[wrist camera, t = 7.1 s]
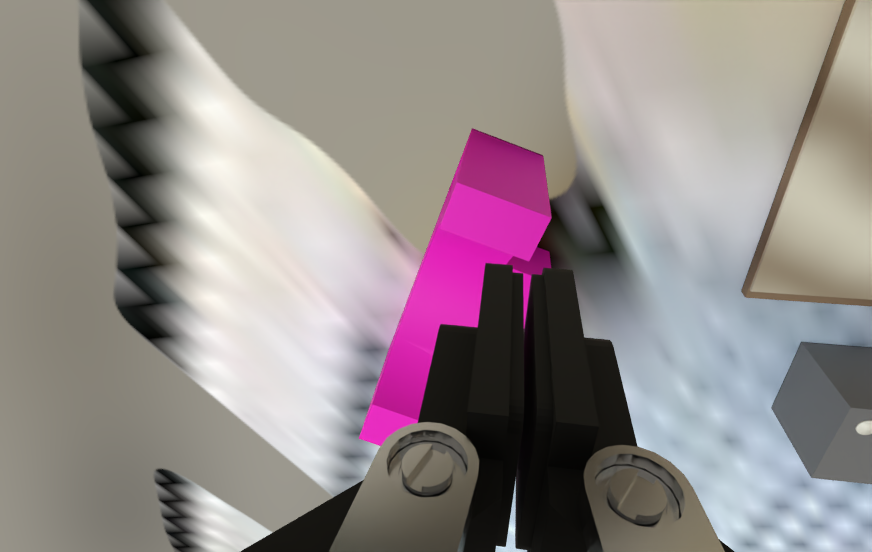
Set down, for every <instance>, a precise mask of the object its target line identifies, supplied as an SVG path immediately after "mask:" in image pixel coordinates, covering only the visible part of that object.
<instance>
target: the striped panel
mask: <svg viewBox="0 0 872 552" xmlns="http://www.w3.org/2000/svg"><path fill="white" fill-rule="evenodd" d="M741 292H742V293H743V295H744V296H745V297H746V298H760V299H775V300H789V301H803V302H817V303H832V304H846V305H860V306H872V0H846V1H845V4H844V6H843V9H842V12H841V15H840V18H839V20H838V23H837V26H836V29H835V32H834V34H833V37H832V40H831V43H830V45H829V48H828V51H827V54H826V57H825V59H824V62H823V65H822V68H821V71H820V73H819V76H818V79H817V82H816V84H815V87H814V90H813V93H812V96H811V98H810V101H809V104H808V107H807V110H806V112H805V115H804V118H803V121H802V124H801V126H800V129H799V132H798V135H797V137H796V140H795V143H794V146H793V149H792V151H791V154H790V157H789V160H788V163H787V165H786V168H785V171H784V174H783V176H782V179H781V182H780V185H779V188H778V190H777V193H776V196H775V199H774V202H773V204H772V207H771V210H770V213H769V216H768V218H767V221H766V224H765V227H764V229H763V232H762V235H761V238H760V241H759V243H758V246H757V249H756V252H755V255H754V257H753V260H752V263H751V266H750V268H749V271H748V274H747V277H746V280H745V282H744V285H743V288H742V291H741Z"/></svg>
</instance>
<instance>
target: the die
mask: <svg viewBox="0 0 872 552" xmlns="http://www.w3.org/2000/svg"><path fill="white" fill-rule="evenodd" d="M772 410H773V412H774V413H775V415H776V417H777V419H778V420H779V422H780V424H781V426H782V427H783V429H784V431H785V433H786V434H787V436H788V438H789V440H790V441H791V443H792V445H793V447H794V448H795V450H796V452H797V454H798V455H799V457H800V459H801V461H802V462H803V464H804V466H805V468H806V469H807V471H808V473H809V474H810V476H811V478H819V479H828V480H837V481H847V482H856V483H865V484H872V348H867V347H854V346H842V345H829V344H816V343H804V342H801V344H800V347H799V349H798V351H797V353H796V355H795V358H794V360H793V362H792V364H791V366H790V369H789V371H788V373H787V375H786V377H785V380H784V382H783V384H782V386H781V388H780V390H779V393H778V395H777V397H776V399H775V401H774V404H773V406H772Z"/></svg>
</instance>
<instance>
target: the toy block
mask: <svg viewBox="0 0 872 552" xmlns="http://www.w3.org/2000/svg"><path fill="white" fill-rule="evenodd" d="M550 220H551V210H550V203H549V195H548V188H547V180H546V173H545V165H544V158H543V155H541V154H539V153H536V152H534V151H531V150H528V149H525V148H523V147H520V146H518V145H515V144H513V143H510V142H507V141H505V140H502V139H499V138H497V137H494V136H491V135H489V134H486V133H484V132H481V131H478V130H476V129H473V128H472V130H471V133H470V135H469V139H468V141H467V143H466V146H465V149H464V151H463V154H462V157H461V159H460V162H459V165H458V167H457V170H456V172H455V175H454V178H453V180H452V183H451V186H450V188H449V191H448V194H447V196H446V199H445V202H444V204H443V207H442V210H441V212H440V215H439V218H438V220H437V223H436V226H435V228H434V231H433V234H432V236H431V239H430V242H429V244H428V247H427V249H426V252H425V255H424V258H423V260H422V263H421V266H420V268H419V271H418V274H417V276H416V279H415V282H414V284H413V287H412V289H411V292H410V295H409V297H408V300H407V303H406V305H405V308H404V311H403V313H402V316H401V319H400V321H399V324H398V327H397V329H396V332H395V335H394V337H393V340H392V343H391V345H390V348H389V351H388V353H387V356H386V359H385V362H384V365H383V368H382V371H381V374H380V377H379V380H378V383H377V386H376V389H375V392H374V395H373V398H372V401H371V404H370V407H369V410H368V413H367V416H366V419H365V422H364V425H363V428H362V431H361V434H360V437H359V439H362V440H365V441H368V442H371V443H374V444H377V445H380V446H381V445H382V444H383V443H384V441H385V440H386V438H387V437H389V436H390V435H391V434H393V433H394V432H395V431H397V430H398V429H400V428H403V427H405V426H408V425H410V424H415V423H418V419H419V414H420V410H421V405H422V401H423V397H424V392H425V388H426V383H427V379H428V374H429V370H430V366H431V361H432V357H433V352H434V348H435V343H436V339H437V334H438V330H439V327H440V324H448V325H458V326H469V327H478V320H479V312H480V303H481V295H482V287H483V278H484V270H485V263H493V264H505V265H513V272H514V273H523V295H524V328H525V320H526V313H527V305H528V297H529V289H530V282H531V276H532V274H538V275H542V271H543V268H551V261H550V252H549V251H546V250H544V249H541V248H538V247H537V245H538V243H539V241H540V239H541V237H542V235H543V233H544V231H545V230H546V228H547V226H548V224H549V222H550Z"/></svg>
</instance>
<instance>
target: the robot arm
mask: <svg viewBox="0 0 872 552" xmlns="http://www.w3.org/2000/svg"><path fill="white" fill-rule="evenodd" d="M515 479H516V529H515V544H516V549H524V550H527V552H734V551H733V550H732V549H730V548H729V547H728V546H727V545H725V544H724V543H723V542H722V541H720V540H719V539H718V537H717V535H716V533H715V531H714V529H713V527H712V525H711V523H710V521H709V519H708V517H707V515H706V513H705V511H704V509H703V507H702V505H701V503H700V501H699V499H698V497H697V495H696V493H695V491H694V489H693V487H692V486H691V484H690V483H689V481H688V480H687V479H686V477H685V476H684V474H683V473H682V472H681V471H680V470H679V469H677V468H676V467H675V466H674V465H673V464H672V463H671V462H670V461H668V460H666V459H665V458H663V457H661V456H659V455H658V454H656V453H654V452H651V451H649V450H646V449H643V448H640V447H637V443H636V439H635V434H634V430H633V426H632V422H631V418H630V414H629V410H628V405H627V401H626V397H625V393H624V389H623V385H622V380H621V376H620V372H619V368H618V364H617V360H616V356H615V351H614V347H613V345H612V342H611V341H610V340H604V339H594V338H584V334H583V328H582V322H581V316H580V310H579V304H578V298H577V293H576V287H575V281H574V275H573V271H572V270H566V269H554V268H543V271H542V275H538V274H532V276H531V282H530V289H529V297H528V305H527V313H526V320H525V328H524V295H523V273H514V272H513V265H505V264H493V263H485V270H484V278H483V287H482V295H481V303H480V312H479V320H478V327H469V326H458V325H448V324H440V327H439V330H438V334H437V339H436V343H435V348H434V352H433V357H432V361H431V366H430V370H429V374H428V379H427V383H426V388H425V392H424V397H423V401H422V405H421V410H420V414H419V419H418V423H415V424H410V425H408V426H405V427H403V428H400V429H398V430H397V431H395V432H394V433H393V434H391V435H390V436H389V437H387V438H386V440H385V441H384V443H383V444H382V445H381V447H380V448H379V450H378V452H377V454H376V456H375V458H374V460H373V462H372V464H371V466H370V468H369V470H368V472H367V474H366V476H365V479H364V480H363V481H361V482H359V483H358V484H356V485H354V486H352V487H351V488H349V489H347V490H345V491H344V492H342V493H340V494H339V495H337V496H335V497H333V498H332V499H330V500H328V501H327V502H325V503H323V504H321V505H320V506H318V507H316V508H315V509H313V510H311V511H309V512H308V513H306V514H304V515H303V516H301V517H299V518H297V519H296V520H294V521H292V522H290V523H289V524H287V525H285V526H284V527H282V528H280V529H279V530H277V531H275V532H273V533H272V534H270V535H268V536H266V537H265V538H263V539H261V540H259V541H258V542H256V543H254V544H253V545H251V546H249V547H247V548H246V549H244V550H242V551H241V552H495V549H496V546H502V547H506V541H507V534H508V527H509V520H510V513H511V507H512V500H513V493H514V486H515Z"/></svg>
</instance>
